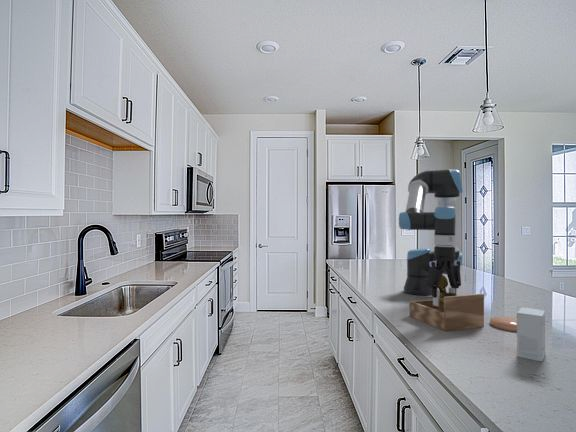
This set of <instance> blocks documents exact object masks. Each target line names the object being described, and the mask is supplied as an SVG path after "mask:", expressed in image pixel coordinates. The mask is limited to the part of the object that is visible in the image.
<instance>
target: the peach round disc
mask: <svg viewBox="0 0 576 432" xmlns="http://www.w3.org/2000/svg"><path fill="white" fill-rule="evenodd" d="M489 324H490V325H491V326H492V327H494V328H496V329H500V330H503V331H509V332H514V333H515V332H516V333H517V317H512V316H511V317H510V316H509V317H508V316H492V317H490V318H489Z"/></svg>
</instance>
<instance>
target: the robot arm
mask: <svg viewBox="0 0 576 432" xmlns="http://www.w3.org/2000/svg"><path fill="white" fill-rule="evenodd" d="M461 177H462V175H461V171H460V170H458V169H439V170H438V169H436V170H424V171H422V172H420V173H418V174H416V175H415V176H413V177H412V179H411V180H410V181H409V183H408V186H407V192H408V198H407V202H406V208H405V211H404V212H402V211H401V212H399V214H398V215H399V216H398V228H399V229H400V230H407V231H415V230H416V231H419V230H420V231H423V230H424V231H434V237H433V239H434V241H433V245H435V246H434V248H433V251H432V250H431V249H430V248H429V247H427V248H416V249H411V250H409V251H407V255H406V262H407V263H406V265H407V266H406V267H407V268H406V278H405V279H406V280H405V283H404V286H403V292H404V293H406V294H409V295H417V296H430V295H431V297H432V299H433V305H435V306H438V307H439V295H440V289H438V286H439V282H440V279H441V276H442V275H447V280H448V284H449V285H450V286H449V287H448V293H455V294H457V289H459V288H460V287H461V286H462V279H461V267H462V261H463V260H462V259H463V253H462V252H461V251H460V249H459V248H458V247H457V243H456V242H457V200H458V199H459V198H460V194H462V193H464V190H463V182H462V178H461ZM427 194H434V198H435V199H436V200H437V206H436V207H435V208H434V211H429V212H427V211H425V203H426V196H427Z"/></svg>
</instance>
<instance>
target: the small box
mask: <svg viewBox="0 0 576 432" xmlns="http://www.w3.org/2000/svg"><path fill="white" fill-rule="evenodd" d="M516 318H517V332H516V356H517V357H518V358H523V359H527V360H532V361H537V362H543V361H544V359H545V356H546V311H545V310H543V309H536V308H529V307H522V306H521V307H520V308H519V309H518V311H517V312H516Z"/></svg>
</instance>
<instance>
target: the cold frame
mask: <svg viewBox="0 0 576 432" xmlns="http://www.w3.org/2000/svg"><path fill="white" fill-rule="evenodd" d="M437 309H438V306H435V305H433V298H432V299H421V300H413V301H411V300H410V301H409V317H411V318H413V319H416V320H417V321H421V322H423V323H426V324H428V325H430V326H433V327H435V328H438V329H439V330H441V331H444V332H449V331H450V332H451V331H458V330H467V329H474V328H482V327H484V326H485V294H484V293H474V294H473V293H472V294H459V295H457V296H448V297H444V312H441V311H438V310H437Z"/></svg>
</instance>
